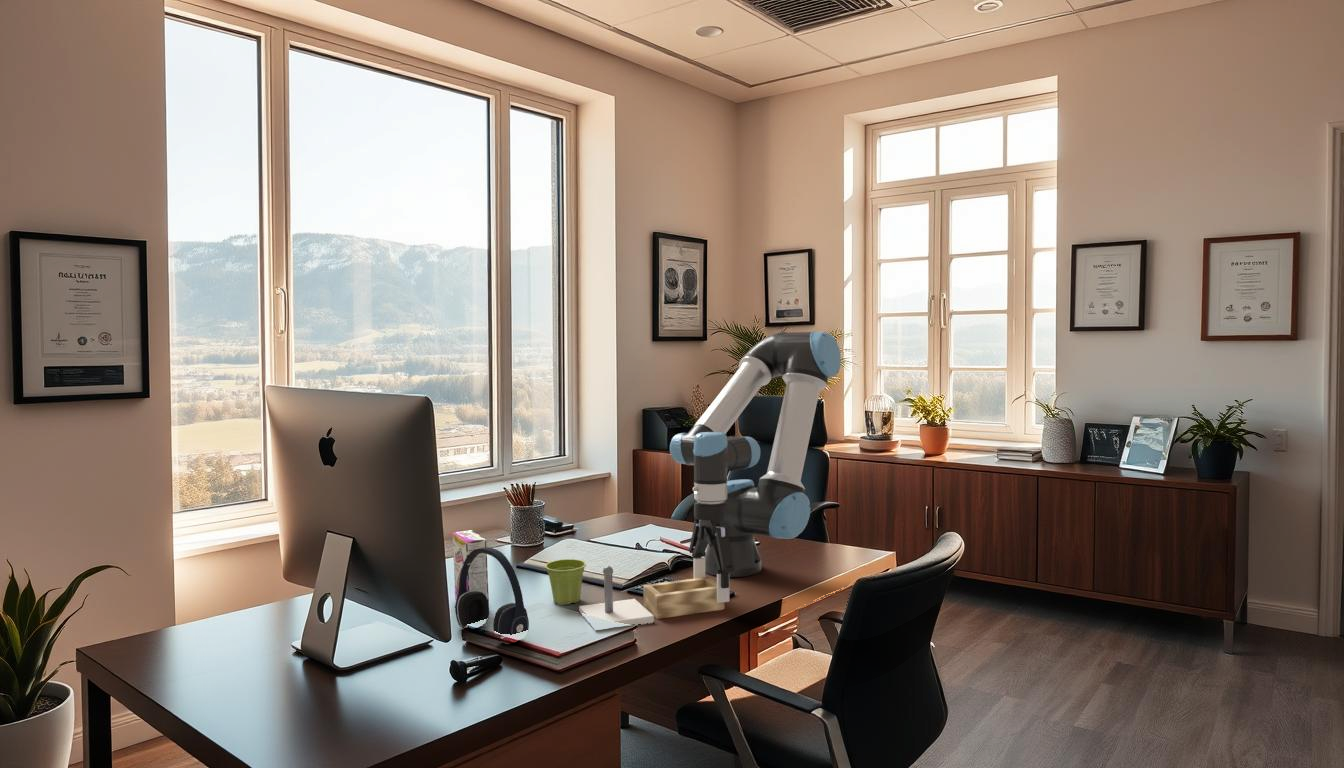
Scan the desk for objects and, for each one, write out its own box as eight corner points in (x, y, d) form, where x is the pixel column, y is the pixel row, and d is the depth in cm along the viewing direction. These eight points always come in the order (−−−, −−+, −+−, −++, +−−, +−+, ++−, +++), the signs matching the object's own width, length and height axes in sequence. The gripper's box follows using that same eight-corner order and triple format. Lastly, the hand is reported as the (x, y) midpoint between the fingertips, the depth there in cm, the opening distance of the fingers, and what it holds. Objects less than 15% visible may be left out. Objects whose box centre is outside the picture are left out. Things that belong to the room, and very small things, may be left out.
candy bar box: (453, 601, 206) (451, 532, 205) (474, 597, 208) (472, 529, 207) (468, 614, 196) (465, 541, 195) (490, 609, 199) (487, 538, 198)
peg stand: (634, 605, 200) (633, 555, 199) (653, 622, 188) (652, 569, 187) (579, 612, 195) (577, 561, 195) (595, 631, 183) (593, 576, 182)
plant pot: (580, 608, 198) (579, 570, 198) (540, 606, 200) (539, 569, 200) (592, 595, 208) (591, 559, 207) (554, 594, 209) (553, 558, 209)
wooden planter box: (708, 597, 204) (708, 576, 204) (724, 609, 196) (724, 587, 195) (643, 606, 198) (643, 585, 198) (657, 618, 190) (656, 596, 190)
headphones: (449, 629, 186) (446, 544, 185) (477, 621, 191) (474, 538, 190) (507, 651, 173) (504, 560, 171) (534, 642, 178) (532, 553, 177)
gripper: (675, 493, 208) (675, 581, 209) (717, 512, 185) (717, 611, 186) (704, 491, 211) (704, 578, 212) (749, 509, 188) (749, 607, 189)
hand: (710, 593), depth 199 cm, fingers open, 13 cm apart
